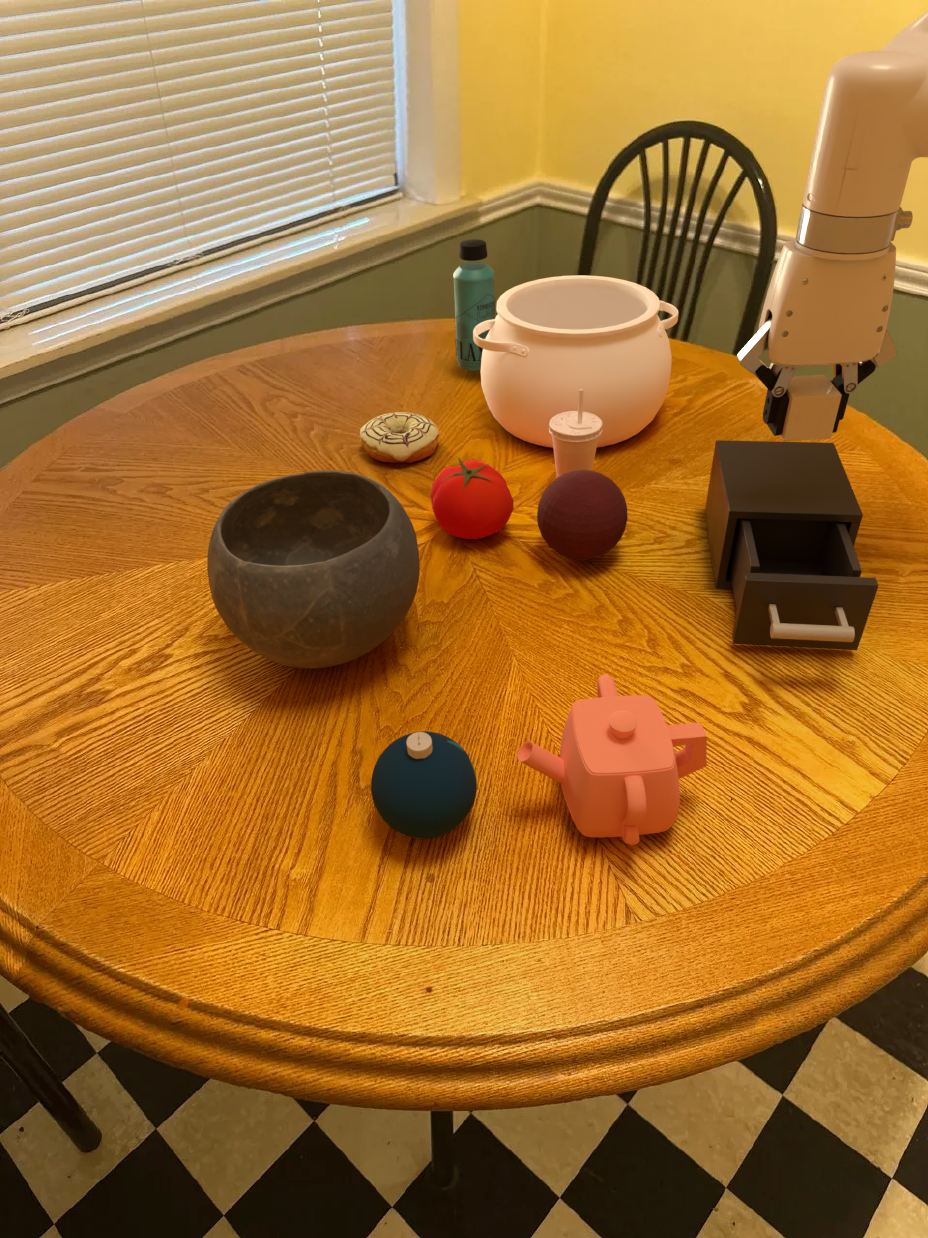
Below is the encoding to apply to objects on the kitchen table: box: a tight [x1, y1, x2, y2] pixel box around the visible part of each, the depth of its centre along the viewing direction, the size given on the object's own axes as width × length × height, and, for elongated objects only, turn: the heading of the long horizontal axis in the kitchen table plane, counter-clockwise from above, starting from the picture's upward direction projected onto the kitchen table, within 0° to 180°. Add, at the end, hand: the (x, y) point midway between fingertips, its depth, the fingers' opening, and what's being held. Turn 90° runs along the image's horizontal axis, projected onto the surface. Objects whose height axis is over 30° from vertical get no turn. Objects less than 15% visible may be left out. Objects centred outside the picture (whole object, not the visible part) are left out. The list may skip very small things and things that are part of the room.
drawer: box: [729, 518, 879, 651], centre depth 85 cm, size 18×12×8 cm, turn 173°
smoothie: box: [549, 389, 602, 478], centre depth 104 cm, size 6×6×14 cm
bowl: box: [206, 469, 420, 670], centre depth 85 cm, size 20×20×15 cm
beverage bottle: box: [452, 238, 497, 372], centre depth 132 cm, size 6×7×20 cm
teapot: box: [516, 674, 708, 846], centre depth 68 cm, size 12×12×10 cm
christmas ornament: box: [370, 730, 478, 840], centre depth 68 cm, size 8×8×10 cm
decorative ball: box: [536, 470, 629, 561], centre depth 96 cm, size 10×10×10 cm
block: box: [779, 374, 842, 442], centre depth 82 cm, size 4×4×4 cm
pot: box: [473, 275, 679, 449], centre depth 120 cm, size 29×26×16 cm
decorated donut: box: [359, 411, 441, 464], centre depth 118 cm, size 10×11×4 cm
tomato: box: [429, 456, 515, 540], centre depth 101 cm, size 9×10×8 cm
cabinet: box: [704, 439, 864, 590], centre depth 94 cm, size 15×13×10 cm
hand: (800, 425), depth 83 cm, fingers closed on block, 4 cm apart
